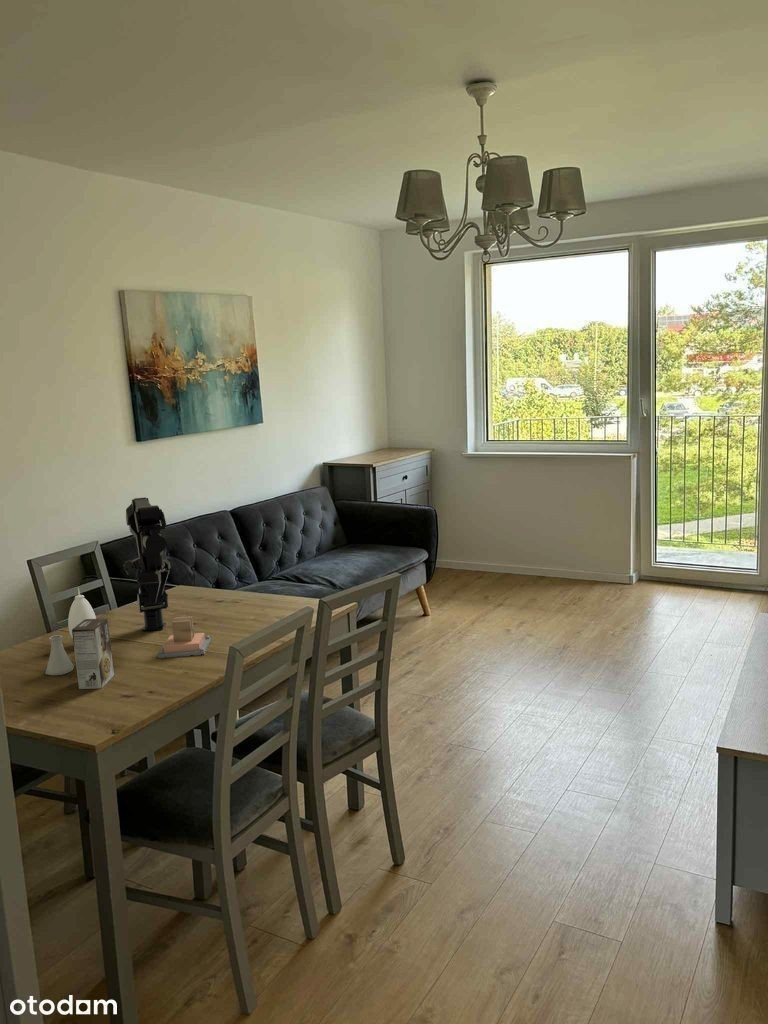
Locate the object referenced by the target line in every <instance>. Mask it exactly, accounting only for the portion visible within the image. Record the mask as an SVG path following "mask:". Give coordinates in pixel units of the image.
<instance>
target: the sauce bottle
mask: <svg viewBox="0 0 768 1024" xmlns="http://www.w3.org/2000/svg"><path fill="white" fill-rule="evenodd" d="M85 619H97V617H96V614H95V611H94V609H93V607H92V605H91V604H90V602H89V601H88V600H87V599H86V598H85V595H83V594H81V593H80V588H79V587H77V595H75V596H74V600H73V602H72V603H71V606H70V608H69V613H68V620H67V622H68V623H67V624H68V625H67V627H68V632H69V635H70V637H71V639H72V640H73V635H72V629H73V628H75V627H76V626H77V625H78V624H80V623H81V622H82V621H83V620H85Z"/></svg>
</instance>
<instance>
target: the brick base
mask: <svg viewBox="0 0 768 1024" xmlns="http://www.w3.org/2000/svg"><path fill="white" fill-rule="evenodd" d="M210 641H211V642H212V638H211V637H210V635H205V632H198V633H197V632H196V633H195V632H194V638H193V639H192V641H187V642H174V637H173V634H170V635H169V637H168V638H166V641H165V642H164V644H163V645H162V648H161V649H160V651H158V653H157V658H158V659H163V658H164V659H165V657H166V658H177V657H178V656H179V658H180V657H191V656H190V655H194V656H202V655H201V654H205V655H206V652H207V650H208V648H209V646H210V644H209V643H211V642H210ZM208 645H209V646H208ZM207 647H208V648H207ZM206 649H207V650H206ZM205 651H206V652H205Z"/></svg>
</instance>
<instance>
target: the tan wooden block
mask: <svg viewBox="0 0 768 1024" xmlns="http://www.w3.org/2000/svg"><path fill="white" fill-rule="evenodd" d="M171 625H172V635H173V637H174V642H187V641H192V639H193V638H194V633H195V630H194V629H195V628H194V619H193V616H192V615H191V616H190V615H189V616H177V617H176V616H175V617H174V618H173V620H172V621H171Z"/></svg>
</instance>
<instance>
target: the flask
mask: <svg viewBox="0 0 768 1024" xmlns="http://www.w3.org/2000/svg"><path fill="white" fill-rule="evenodd" d="M62 638H63V635H61V634H55V635H51V636H50V637H49V638H48V639H49V641H50V653H49V658H48V662H47V666H46V670H45V675H47V676H48V675H49V676H60V675H65V674H68V673H70V672H72V671H73V670H74V669H75V665H74V664H73V662H72V661H71V659H70V657H69V655H68V653H67V651H66V650H65V648H64V645H63V641H62V640H63V639H62Z"/></svg>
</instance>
